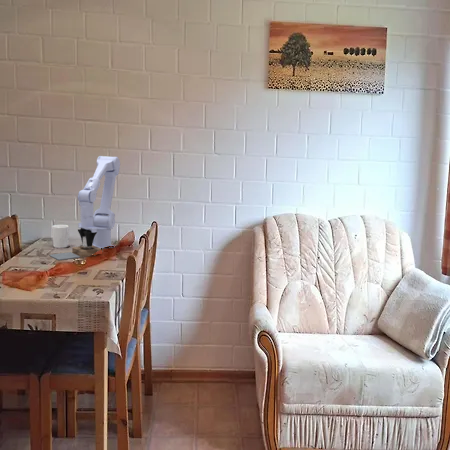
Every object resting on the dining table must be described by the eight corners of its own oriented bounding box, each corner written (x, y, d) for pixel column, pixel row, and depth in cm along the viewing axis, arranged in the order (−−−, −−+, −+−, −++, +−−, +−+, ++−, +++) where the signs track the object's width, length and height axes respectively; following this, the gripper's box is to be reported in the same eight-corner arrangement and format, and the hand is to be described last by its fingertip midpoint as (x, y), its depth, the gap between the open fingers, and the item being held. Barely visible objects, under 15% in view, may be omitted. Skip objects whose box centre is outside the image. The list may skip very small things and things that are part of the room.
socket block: (72, 252, 248) (72, 247, 247) (92, 250, 254) (92, 244, 254) (82, 257, 240) (82, 251, 240) (102, 254, 247) (102, 249, 246)
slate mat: (49, 255, 240) (49, 254, 240) (70, 252, 247) (70, 252, 247) (58, 260, 233) (58, 259, 233) (80, 257, 240) (80, 256, 239)
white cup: (51, 245, 261) (50, 224, 259) (67, 244, 265) (67, 224, 263) (53, 248, 254) (52, 227, 252) (70, 247, 258) (70, 227, 256)
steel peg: (81, 253, 247) (81, 236, 246) (89, 252, 250) (89, 235, 248) (85, 255, 244) (85, 237, 243) (93, 253, 247) (93, 236, 245)
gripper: (71, 214, 247) (72, 243, 249) (86, 219, 236) (86, 249, 238) (85, 213, 251) (86, 241, 254) (100, 217, 241) (100, 247, 243)
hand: (87, 245), depth 246 cm, fingers closed on steel peg, 4 cm apart
